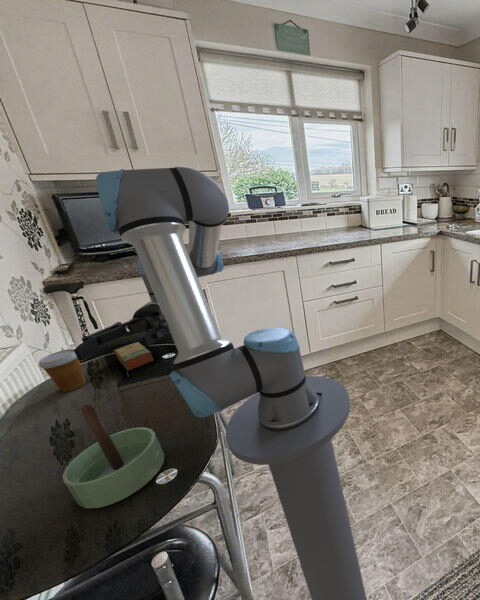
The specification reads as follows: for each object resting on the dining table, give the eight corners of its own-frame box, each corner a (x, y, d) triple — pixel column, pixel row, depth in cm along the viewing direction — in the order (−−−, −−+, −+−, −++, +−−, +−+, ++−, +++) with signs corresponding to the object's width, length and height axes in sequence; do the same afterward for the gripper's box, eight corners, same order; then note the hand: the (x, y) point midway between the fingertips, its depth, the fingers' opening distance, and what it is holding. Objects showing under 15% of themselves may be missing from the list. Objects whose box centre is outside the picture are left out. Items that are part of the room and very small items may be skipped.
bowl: (166, 440, 81) (155, 418, 79) (164, 482, 69) (152, 457, 67) (87, 472, 74) (73, 449, 72) (69, 526, 62) (52, 499, 59)
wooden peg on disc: (143, 457, 76) (110, 389, 69) (141, 477, 70) (104, 405, 64) (105, 473, 73) (66, 403, 66) (100, 495, 67) (56, 422, 60)
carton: (142, 350, 133) (138, 341, 132) (154, 360, 123) (150, 350, 122) (117, 359, 127) (112, 349, 126) (127, 371, 117) (123, 361, 116)
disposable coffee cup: (59, 397, 105) (41, 365, 101) (51, 390, 110) (33, 359, 106) (96, 381, 113) (81, 351, 108) (87, 375, 118) (72, 346, 113)
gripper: (204, 319, 98) (176, 351, 79) (110, 335, 94) (56, 374, 74) (196, 296, 96) (165, 323, 76) (99, 311, 91) (40, 345, 71)
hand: (111, 348), depth 75 cm, fingers open, 13 cm apart
